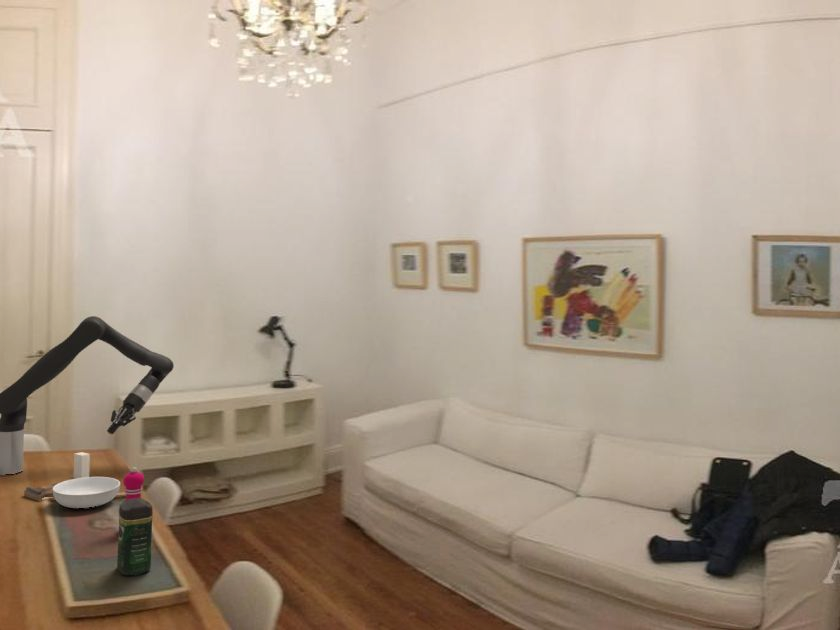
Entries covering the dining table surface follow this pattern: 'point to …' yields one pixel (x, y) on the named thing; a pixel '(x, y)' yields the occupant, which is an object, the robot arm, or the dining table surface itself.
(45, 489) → the brown flat rectangular board
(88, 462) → the block
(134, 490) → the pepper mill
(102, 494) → the serving bowl
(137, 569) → the green labelled bottle
